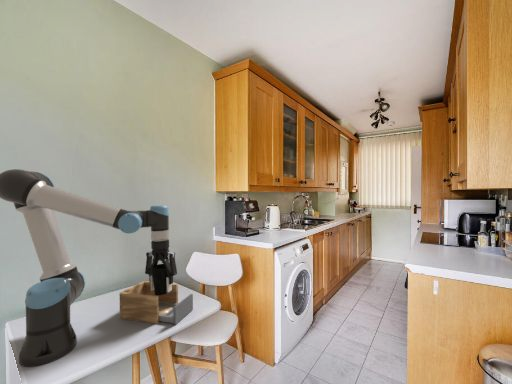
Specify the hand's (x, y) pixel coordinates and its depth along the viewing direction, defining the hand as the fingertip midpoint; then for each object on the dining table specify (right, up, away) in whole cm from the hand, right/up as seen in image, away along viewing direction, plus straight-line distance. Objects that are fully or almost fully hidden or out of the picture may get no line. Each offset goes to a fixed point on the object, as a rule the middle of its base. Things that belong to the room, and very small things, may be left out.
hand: (161, 290), depth 109 cm
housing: (-6, -11, +2) cm, 13 cm away
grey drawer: (+3, -10, -1) cm, 11 cm away
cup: (0, -1, 0) cm, 1 cm away
